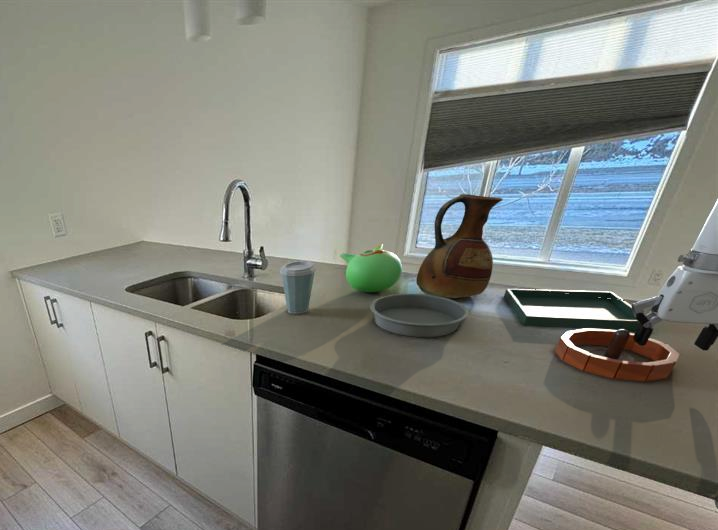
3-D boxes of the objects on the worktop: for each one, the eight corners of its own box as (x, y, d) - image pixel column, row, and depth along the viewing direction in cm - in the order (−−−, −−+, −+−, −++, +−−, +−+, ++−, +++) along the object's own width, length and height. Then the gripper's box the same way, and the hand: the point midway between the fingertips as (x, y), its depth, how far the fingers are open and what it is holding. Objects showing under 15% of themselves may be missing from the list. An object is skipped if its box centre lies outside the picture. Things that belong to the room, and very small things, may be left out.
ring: (643, 345, 93) (650, 331, 91) (691, 385, 78) (700, 369, 76) (545, 339, 99) (551, 326, 97) (572, 375, 84) (579, 360, 83)
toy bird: (359, 301, 133) (364, 256, 125) (334, 287, 147) (338, 246, 140) (408, 293, 135) (416, 248, 128) (379, 280, 150) (385, 239, 142)
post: (623, 354, 90) (638, 324, 87) (639, 369, 84) (655, 337, 81) (583, 351, 93) (595, 322, 89) (595, 365, 87) (609, 335, 83)
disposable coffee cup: (298, 319, 124) (300, 270, 116) (272, 311, 131) (272, 265, 124) (320, 309, 129) (323, 262, 122) (294, 302, 137) (295, 257, 129)
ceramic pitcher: (496, 304, 121) (527, 195, 106) (424, 305, 125) (444, 200, 110) (470, 284, 138) (494, 188, 123) (407, 286, 141) (423, 193, 126)
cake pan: (419, 348, 101) (422, 331, 98) (350, 319, 120) (352, 304, 118) (486, 326, 109) (490, 310, 106) (411, 302, 128) (414, 288, 126)
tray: (608, 300, 117) (612, 291, 115) (649, 332, 98) (654, 322, 97) (503, 296, 126) (506, 288, 124) (523, 325, 107) (526, 316, 106)
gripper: (665, 265, 75) (623, 348, 83) (798, 268, 69) (739, 357, 77) (645, 256, 81) (608, 334, 89) (766, 257, 75) (714, 341, 83)
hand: (669, 345), depth 83 cm, fingers open, 9 cm apart
